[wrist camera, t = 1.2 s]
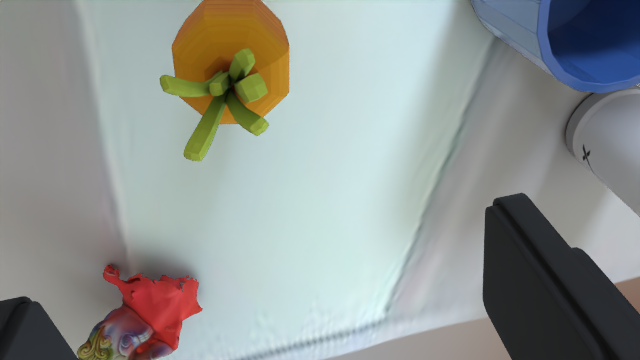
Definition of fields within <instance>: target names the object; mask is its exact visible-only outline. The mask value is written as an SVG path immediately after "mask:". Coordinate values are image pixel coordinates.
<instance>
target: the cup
mask: <svg viewBox="0 0 640 360" xmlns="http://www.w3.org/2000/svg"><path fill="white" fill-rule="evenodd" d="M471 3H472V6H473V9H474V11H475V13H476V15H477V17H478V18H479V20H480V21H481V22H482V23H483V24H484V25H485V26H486V27H487V28H488V29H489V30H490V31H491V32H492V33H493V34H494V35H496V36H497V37H499V38H500V39H501V40H503V41H504V42H505V43H507V44H508V45H510V46H511V47H512V48H514V49H515V50H517V51H518V52H519V53H521V54H522V55H523V56H525V57H526V58H528V59H529V60H530V61H532V62H533V63H534V64H536V65H537V66H539V67H540V68H541V69H543V70H544V71H546V72H547V73H548V74H550V75H551V76H552V77H554V78H555V79H557V80H558V81H560V82H562V83H564V84H566V85H567V86H569V87H571V88H573V89H575V90H577V91H585V92H593V93H607V92H612V91H617V90H622V89H627V88H630V87H632V86H634V85H636V84H639V83H640V0H471Z"/></svg>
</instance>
